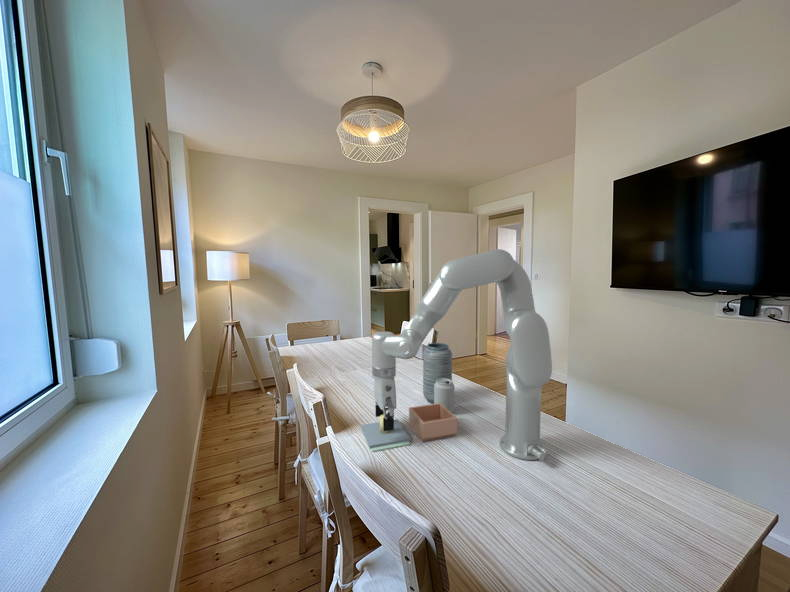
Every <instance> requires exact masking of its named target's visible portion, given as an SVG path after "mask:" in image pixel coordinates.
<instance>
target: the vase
mask: <svg viewBox="0 0 790 592" xmlns="http://www.w3.org/2000/svg"><path fill="white" fill-rule="evenodd" d="M422 356H423V363H422V366H423V367H422V376H423V378H422V394H423V395H422V396H423V397H424V398H425V400H426V401H427V402H428V403H429V404H434V384H435V383H436V380H437V379H440V378H446V379H450V380H452V381H453V352H452V350H451V349H450V348H449V344H447V343H442V342H431V343H428V344H426V348H425V349H424V350H423V354H422Z"/></svg>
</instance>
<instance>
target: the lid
mask: <svg viewBox="0 0 790 592" xmlns="http://www.w3.org/2000/svg"><path fill="white" fill-rule="evenodd" d="M383 418H384V414H383V415H380V416H379V421H377V422H371V424H370V423H364V424H360V429H361V431H362V434H363V436H364V438H365V442H366V443H367V446H368V448H369V449H371V448H374V447H380V446H385V445H390V444H396V443H401V442H407V441H409V442H411V441H412V440H411V437H410V436H409V434H408V433H407V431H406V430H405V428H404V427H403V425H402V424H401V422H400V421H399V419H398V418H397V419H394V429H393V430H389V431H384V430H383Z"/></svg>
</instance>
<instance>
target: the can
mask: <svg viewBox="0 0 790 592" xmlns="http://www.w3.org/2000/svg"><path fill="white" fill-rule="evenodd" d="M436 403H441V404H442V405H443V406H445V407H446V408H447V409H448V410H449V411H450V412H451V413H452V414H453V413H454V412H455V383H454V382H453V379H452V380H450V379H446V378H440V379H437V380H436V383H435V384H434V404H436Z"/></svg>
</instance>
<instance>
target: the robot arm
mask: <svg viewBox="0 0 790 592" xmlns="http://www.w3.org/2000/svg"><path fill="white" fill-rule="evenodd" d="M493 283H496V285H497V286H498V288H499V291H500V299H501V306H502V314H503V327H504V331H505V332H506V334H507V335H508V336H509V341H510V347H509V348H508V349H507V352H506V356H505V375H506V388H505V389H506V390H505V391H506V395H505V431H504V434H503V435H502V436H501V437H500V438H499V446H500V448H501V449H502V451H504V452H505V453H506V454H508V455H510V456H511V457H514V458H517V459H520V460H526V461H534V460H535V461H536V460H540V461H541V462H542V461H544V460H545V458H546V456H549V455H548V454H549V451H548V450H547V449H546V446H545V445H544V443H543V439H541V438H540V437H541V416H542V415H541V413H542V411H541V410H542V409H541V408H542V387H543V386H545V385H546V384H547V383H548V382H549V381H550V379H551V377H552V373H553V361H552V359H553V358H552V351H551V350H552V349H551V343H550V340H551V339H550V334H549V328H548V325H547V323H546V321H545V319H544V318H543V316H542V315H540V314H539V313H537V312H536V307H535V302H534V301H535V300H534V294H533V289H532V284H531V281H530V277H529V275H528V273H527V272H526V270H525V269H524V268H523V266H521V264H520V263H518V261H517V260H515V259H514V257H513V255H512V254H511V253H510V252H509V251H507V250H504V249H502V248H501V249H500V248H499V249H498V248H496V249H495V248H494V249H492V250H488V251H484V252H480V253H476V254H473V255H469V256H468V255H467V256H465V257H461V258H455V259H451V260H449V261H447V262H445V263H444V264H443V265H442V267H441V268H440V271H439V272H438V274H437V276H436V277H435V278H434V280H433V281H432V283H431V284H430V286H429V287H428V289H427V291H426V292H425V293H424V295H423V296H422V298H421V299H420V301H419V303H418V306H417V308H416V311H415V312H414V314H413V316H412V317H411V318H410V320H409V322H408V323H407V325H406V326H405V328H404V329H403V331H401V332H400V334H398V335H395V334H394V333H393V332H391V331H377V332H374V333H373V334H372V335H371V372H372V373H371V376H372V378H374V383H373V385H374V401H375V402H374V403H375V417H376V418H380V415H383V414H384V418H383V430H384V431H389V430H393V429H394V420H395V410H396V409H397V390H396V382H395V377H396V376H397V373H396V369H397V367H396V363H397V362H396V361H397V360H396V358H397V359H400V360H401V359H402V360H410V359H413V358H415V356H417V354H418V352H419V350H420V347H421V346H422V344H423V342H424V341H425V339H426V338H427V337H428V334H429V333H430V332H431V331H432V329H433V328H434V326H435V325H436V324H437V323H438V322H440V321H441V320H442V319H443V318H444V317H445V315H446V314H447V312H448V311H449V309H450V308H451V307H452V306H453V304H454V302H455V301H456V300H457V298H458V297H459V295H460V293H462V291H463V290H467V289H472V288H476V287H480V286H484V285H485V286H486V285H488V284H489V285H490V284H493ZM387 411H388V412H387Z"/></svg>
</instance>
